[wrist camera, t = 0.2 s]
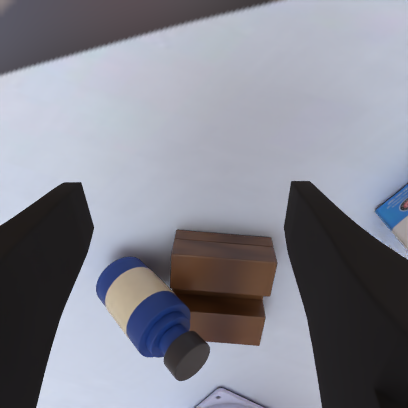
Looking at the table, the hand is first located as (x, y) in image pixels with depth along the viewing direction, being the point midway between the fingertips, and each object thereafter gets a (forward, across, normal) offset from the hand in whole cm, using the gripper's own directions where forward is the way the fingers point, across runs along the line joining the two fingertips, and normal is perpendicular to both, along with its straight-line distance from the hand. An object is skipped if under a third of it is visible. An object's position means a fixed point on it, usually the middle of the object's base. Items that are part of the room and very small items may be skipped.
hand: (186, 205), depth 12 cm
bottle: (+9, +3, +13) cm, 16 cm away
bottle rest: (+8, -1, +13) cm, 16 cm away
